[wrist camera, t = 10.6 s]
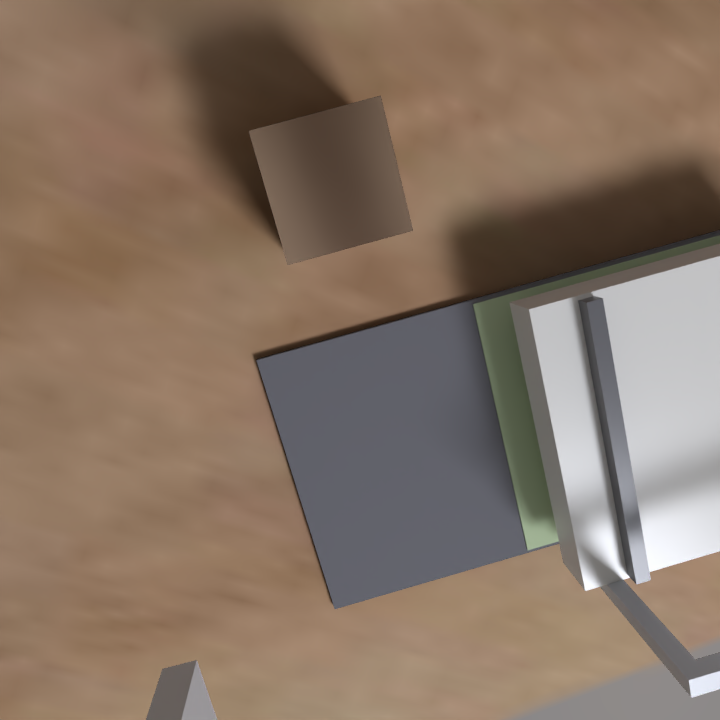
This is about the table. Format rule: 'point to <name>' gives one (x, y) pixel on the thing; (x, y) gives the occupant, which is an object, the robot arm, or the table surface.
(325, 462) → the grey holder base
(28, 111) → the table surface
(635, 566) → the white tray
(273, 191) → the block
